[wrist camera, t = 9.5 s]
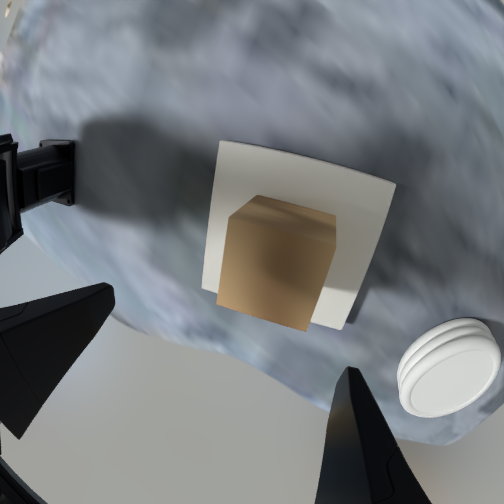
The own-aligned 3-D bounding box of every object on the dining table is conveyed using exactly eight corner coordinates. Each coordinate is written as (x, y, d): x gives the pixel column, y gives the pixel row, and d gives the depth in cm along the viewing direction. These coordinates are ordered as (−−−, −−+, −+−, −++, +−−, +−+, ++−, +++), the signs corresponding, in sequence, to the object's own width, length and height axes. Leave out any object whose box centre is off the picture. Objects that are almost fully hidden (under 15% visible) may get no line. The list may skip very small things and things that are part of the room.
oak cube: (243, 264, 19) (216, 304, 15) (257, 194, 17) (228, 217, 13) (314, 284, 18) (306, 331, 14) (335, 215, 16) (336, 246, 12)
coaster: (385, 341, 20) (390, 372, 17) (489, 296, 16) (506, 321, 13) (404, 403, 22) (407, 430, 19) (488, 370, 18) (497, 394, 15)
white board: (206, 281, 22) (201, 287, 21) (225, 140, 17) (219, 140, 16) (341, 321, 20) (341, 330, 19) (392, 182, 15) (396, 184, 14)
